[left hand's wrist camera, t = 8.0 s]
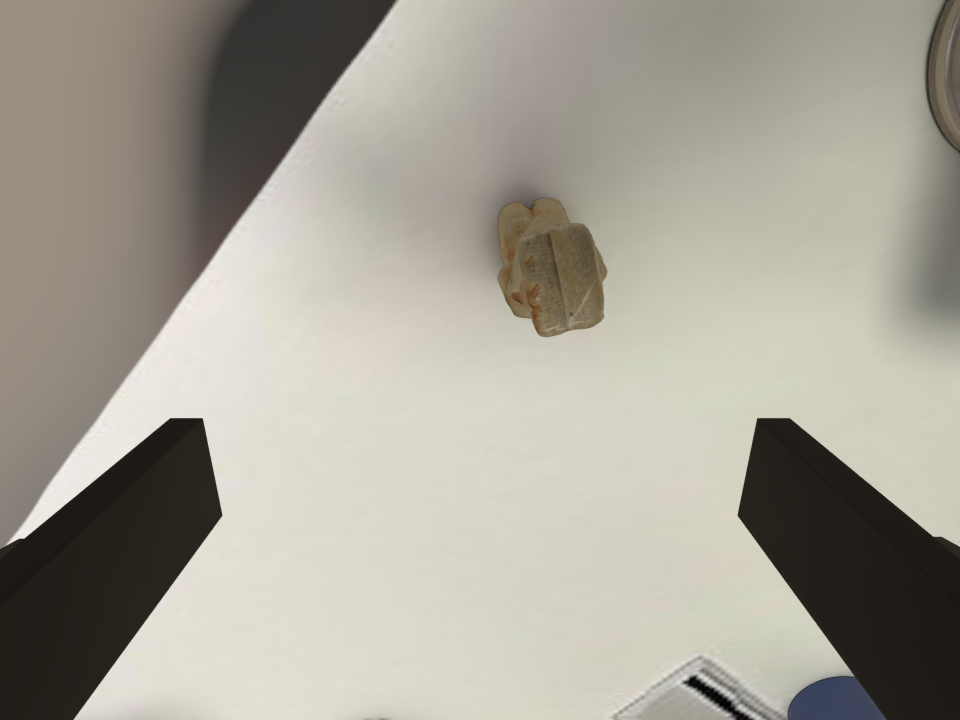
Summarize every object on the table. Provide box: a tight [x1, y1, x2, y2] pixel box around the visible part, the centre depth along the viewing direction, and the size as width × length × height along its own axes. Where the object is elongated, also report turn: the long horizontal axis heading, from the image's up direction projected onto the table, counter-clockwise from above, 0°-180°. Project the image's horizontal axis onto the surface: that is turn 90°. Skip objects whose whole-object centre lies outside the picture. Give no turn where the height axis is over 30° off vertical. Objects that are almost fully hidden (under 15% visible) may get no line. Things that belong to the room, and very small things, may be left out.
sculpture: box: [498, 198, 607, 337], centre depth 31 cm, size 6×7×15 cm
